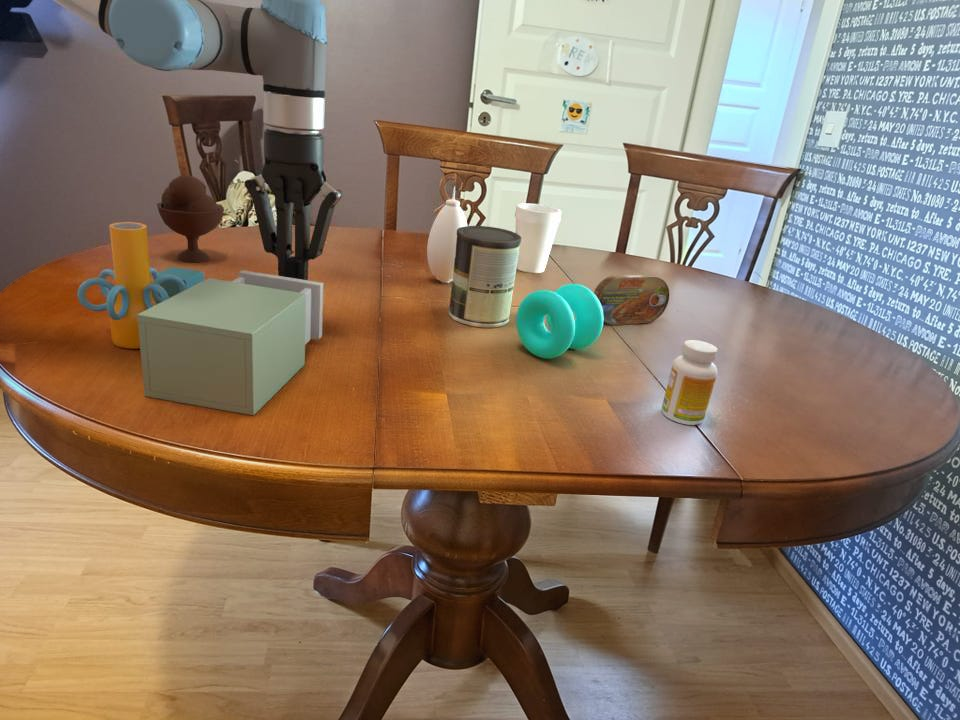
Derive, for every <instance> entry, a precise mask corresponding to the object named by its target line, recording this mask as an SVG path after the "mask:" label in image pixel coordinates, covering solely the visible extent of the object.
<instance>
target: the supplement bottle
mask: <svg viewBox="0 0 960 720" xmlns="http://www.w3.org/2000/svg"><path fill="white" fill-rule="evenodd" d="M682 345H683V346H682V349H681V354H682V355H679V356H677V357H676V358H675V359H674V360H673V362H672V365H671V369H670V372H669V377H668V381H667V385H666V389H665V392H664V396H663V401H662V404H661V412H662V414H663V416H664V417H666V418H667V419H669V420H671V421H672V422H675V423H679V424H683V425H687V426H696V425H699V424H701V423H703V422H704V420H705V418H706V414H707V412H708V408H709V404H710V400H711V397H712V394H713V390H714V387H715V383H716V379H717V375H718V367H717V365H715V364H714V362H715V360H716V357H717V354H718V348H717V347H716V346H715V345H713V344H711V343H709V342H706V341H702V340H697V339H687V340H685V341H684V342H683V344H682Z"/></svg>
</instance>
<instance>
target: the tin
mask: <svg viewBox="0 0 960 720" xmlns="http://www.w3.org/2000/svg"><path fill="white" fill-rule="evenodd" d="M593 293H594V294H595V295H596V297H597V298H598V300H599V301H600V304H601V306H602V310H603V316H604V322H603V323H605V324H608V325H609V326H621V325H637V324H638V325H639V324H650V323H653V322H654V321H656V320H658V319H659V318H660V317H661V316H662V315H663V314H664V312H665V311H666V309H667V307H668V305H669V301H670V289H669V285H668V284H667V283H666V281H665V280H664V279H662V278H661V277H659V276H654V275H650V274H635V275H611V276H608V277H605V278H604V279H603V280H601V281H600V282H598V284H597V285H596V287H595V289H594V291H593Z"/></svg>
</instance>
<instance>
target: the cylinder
mask: <svg viewBox="0 0 960 720" xmlns="http://www.w3.org/2000/svg"><path fill="white" fill-rule="evenodd" d="M108 226H109V227H108V228H109V237H110V238H109V239H110V249H111V257H112V266H113V269H110V268H105V269H103V270H101V272H99V275H98V277H93V278H88V279H86V280H85V281H83V282H82V283H81V284H80V285H79V287H78V289H77V294H76V295H77V299H78V301H79V304H81V306H82V307H83V308H85V309H87V310H89V311H93V312H104V311H106V312H107V314H108V316H109V325H110V326H109V327H110V335H111V341H112V343H113V345H115V346H117V347H119V348H123V349H130V350H132V349H133V350H134V349H136V350H137V349H140V339H139V328H138V322H139V321H138V318H137V314H139V313H141V312H143V311H145V310H147V309H149V308H151V307H153V306H155V305H157V304H159V303H161V302H163V301H165V300H167V299H169V296H168V294H167V292H166V291H165V289H164V288H163V287H161V286H160V284H161V283H162V282H164V281H173V282H175V283H177V284H178V286H179V287H180V293H181V292H183V291H185V290H186V285H185V283H184V282H183V281H182V280H181V279H180V278H179V277H177V276H174V275H163V276H160V277H159V274H158V273H159V272H158V270H157V269H156V268H154V267H151V263H150V251H149V239H148V238H149V237H148V226H147V225H146V224H144V223H141V222H134V221H133V222H132V221H121V222H113V223H110V224H109V225H108ZM107 276H110V278H112V279H113V280H114V284H113V283H112V282H111V281H110V280H107V279H106V278H107ZM94 285H98V288H99V290H100V292H101V294H102V295H103V297H104V298H105V299H106V302H105V303H102V304H93V303H92V302H90V301H88V299H87V298H86V291H87V290H88V288H89V287H91V286H94ZM158 293H159V294H160V295H161V297H162V299H161V298H160V297H159V295H158Z"/></svg>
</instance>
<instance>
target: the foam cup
mask: <svg viewBox="0 0 960 720" xmlns="http://www.w3.org/2000/svg"><path fill="white" fill-rule="evenodd" d="M514 212H515V213H514V217H515V233H516V234H518V235H520V236H521V238H522V239H521V243H520V246H519V253H518V260H517V267H516V270H518V271H521V272H524V273H530V274H534V273H535V274H539V273H543V272H545V269H546V267H547V263H548V260H549V256H550V253H551V250H552V246H553V243H554V239H555V236H556V233H557V229H558V227H559V224H560V223H561V217H562V210H561V209H560V208H557V207H554V206H551V205H546V204H539V203H530V202H529V203H528V202H524V203H522V202H521V203H517V204H516V206H515V211H514Z"/></svg>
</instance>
